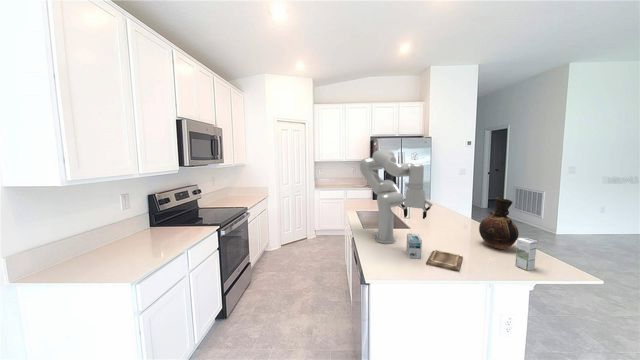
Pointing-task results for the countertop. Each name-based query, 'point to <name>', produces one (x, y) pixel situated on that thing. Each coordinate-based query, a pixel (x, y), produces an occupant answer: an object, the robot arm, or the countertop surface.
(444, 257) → the brown shallow tray
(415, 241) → the light bulb box
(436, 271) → the countertop surface
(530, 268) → the syrup box
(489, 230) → the ceramic vessel
